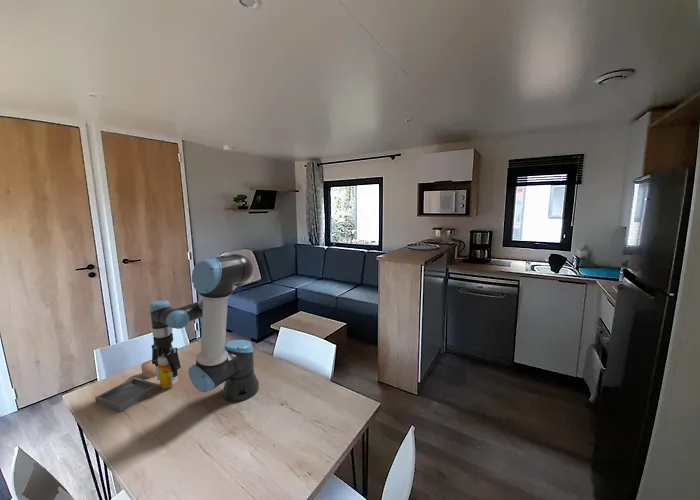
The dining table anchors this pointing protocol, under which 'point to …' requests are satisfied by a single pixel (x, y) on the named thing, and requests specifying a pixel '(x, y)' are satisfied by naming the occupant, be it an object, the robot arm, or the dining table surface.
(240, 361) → the robot arm
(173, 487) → the dining table surface
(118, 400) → the tray
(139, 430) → the dining table surface
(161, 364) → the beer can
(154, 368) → the light brown rounded lump
